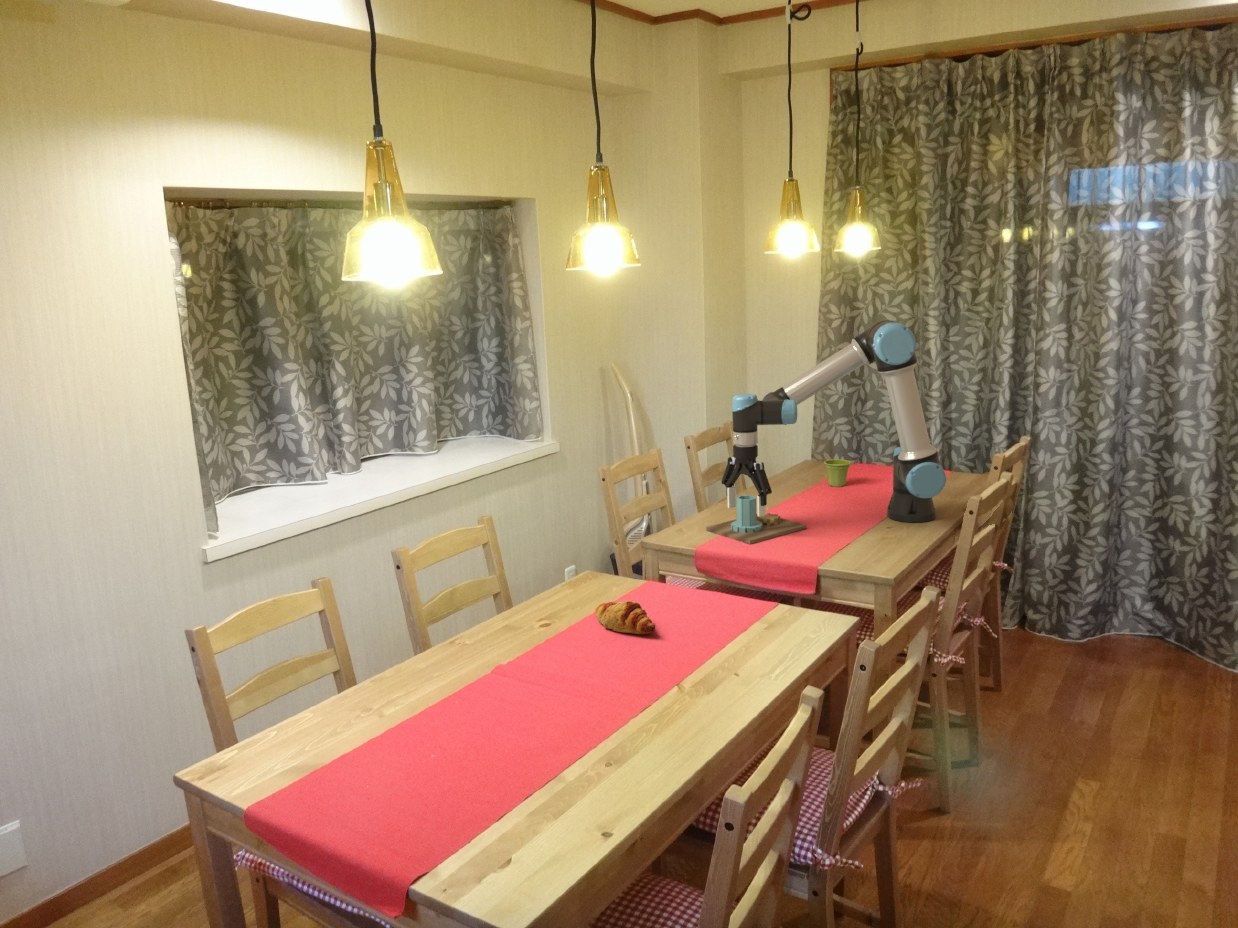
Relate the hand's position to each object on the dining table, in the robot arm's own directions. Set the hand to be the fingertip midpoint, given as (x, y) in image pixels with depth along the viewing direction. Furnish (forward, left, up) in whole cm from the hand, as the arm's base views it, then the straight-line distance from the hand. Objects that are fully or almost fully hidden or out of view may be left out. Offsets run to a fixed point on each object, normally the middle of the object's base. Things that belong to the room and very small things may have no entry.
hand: (746, 511), depth 307 cm
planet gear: (0, 0, -6) cm, 6 cm away
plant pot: (+22, -65, -7) cm, 69 cm away
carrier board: (0, -4, -7) cm, 8 cm away
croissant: (-37, +74, -7) cm, 83 cm away
